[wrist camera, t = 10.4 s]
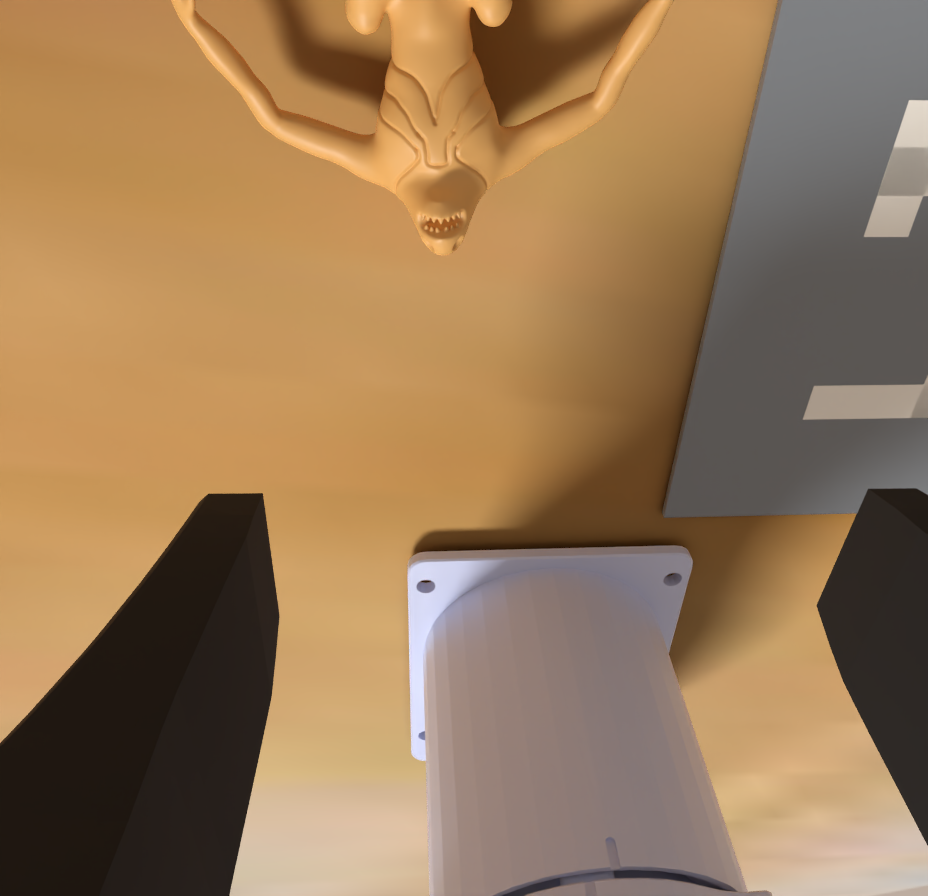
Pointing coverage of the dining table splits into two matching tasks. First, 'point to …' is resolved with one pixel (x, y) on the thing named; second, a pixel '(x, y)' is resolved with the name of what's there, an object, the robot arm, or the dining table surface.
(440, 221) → the figurine
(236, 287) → the dining table surface
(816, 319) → the grey tile
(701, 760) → the robot arm
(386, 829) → the dining table surface
